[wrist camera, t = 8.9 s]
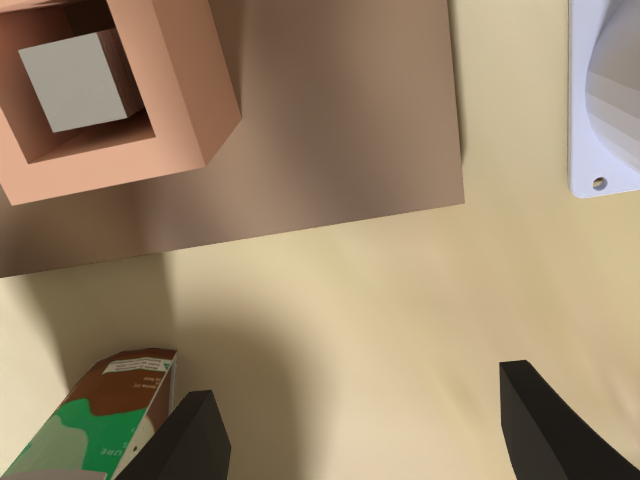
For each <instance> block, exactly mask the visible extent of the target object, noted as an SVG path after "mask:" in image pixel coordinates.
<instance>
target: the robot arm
mask: <svg viewBox="0 0 640 480" xmlns="http://www.w3.org/2000/svg"><path fill="white" fill-rule="evenodd" d="M599 177H603V181H602V183H601V184H600V185H599V186H596V187H593V186H592V185H593V182H594V181H595V180H596V179H597V178H599ZM568 187H569V190H570V191H571V193H572V194H573V195H574V196H576V197H578V198H589V197H596V196H602V195H608V194H615V193H621V192H628V191H634V190H640V0H569V90H568ZM499 367H500V401H501V426H502V430H503V434H504V438H505V442H506V446H507V449H508V453H509V457H510V460H511V464H512V467H513V470H514V473H515V475H516V478H517V480H640V470H638V469H637V468H636V467H635V466H633V465H632V464H631V463H630V462H629V461H627V460H626V459H625V458H624V457H623V456H622V455H620V454H619V453H618V452H617V451H616V450H615V449H614V448H612V447H611V446H610V445H609V444H608V443H607V442H606V441H605V440H603V439H602V438H601V437H600V436H599V435H598V434H597V433H596V432H595V431H594V430H593V429H592V428H591V427H590V426H589V425H588V424H587V423H586V422H585V421H583V420H582V419H581V418H580V417H579V416H578V415H577V414H576V413H575V412H574V411H573V410H572V409H571V408H570V407H569V406H568V405H567V404H566V403H565V402H564V400H563V399H562V398H561V397H560V396H559V395H558V394H557V393H556V392H555V391H554V390H553V389H552V388H551V387H550V385H549V384H548V383H547V382H546V381H545V380H544V379H543V378H542V376H541V375H540V374H539V373H538V372H537V371H536V369H535V368H534V367H533V366H532V365H531V363H529V362H528V361H527V360H519V361H508V362H499ZM230 452H231V445H230V442H229V439H228V436H227V433H226V430H225V427H224V424H223V421H222V419H221V416H220V413H219V410H218V407H217V404H216V401H215V398H214V395H213V392H212V390H205V391H194V392H189V393H188V394H187V395H186V396H185V397H184V399H183V400H182V401H181V402H180V403H179V405H178V406H177V407H176V408H175V409H174V411H173V412H172V413H171V414H170V416H169V417H168V418H167V419H166V420H165V422H164V423H163V424H162V425H161V426H160V428H159V429H158V430H157V431H156V433H155V434H154V435H153V436H152V437H151V438H150V440H149V441H148V442H147V443H146V444H145V446H144V447H143V448H142V449H141V450H140V451H139V453H138V454H137V455H136V456H135V457H134V458H133V459H132V460H131V462H130V463H129V464H128V465H127V466H126V467H125V468H124V469H123V470H122V471H121V472H120V473H119V475H118V476H117V477H116V478H115V479H114V480H227V474H228V468H229V460H230Z"/></svg>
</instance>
